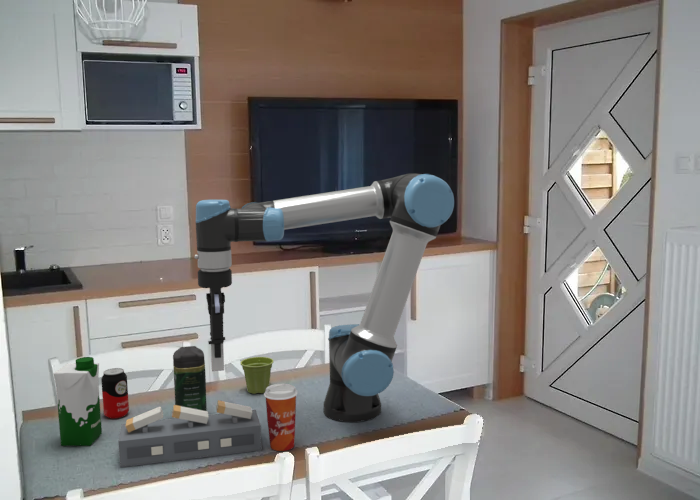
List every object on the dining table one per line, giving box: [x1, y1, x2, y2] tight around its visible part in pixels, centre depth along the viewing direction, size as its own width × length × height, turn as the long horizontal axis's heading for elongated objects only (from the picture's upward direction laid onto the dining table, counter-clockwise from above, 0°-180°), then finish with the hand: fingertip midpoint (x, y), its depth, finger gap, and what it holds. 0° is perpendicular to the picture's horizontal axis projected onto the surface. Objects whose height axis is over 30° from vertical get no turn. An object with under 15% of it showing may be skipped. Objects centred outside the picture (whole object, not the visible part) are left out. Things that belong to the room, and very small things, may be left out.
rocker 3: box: [215, 399, 253, 419], centre depth 161 cm, size 8×4×2 cm, turn 105°
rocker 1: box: [125, 406, 164, 432], centre depth 156 cm, size 8×4×2 cm, turn 104°
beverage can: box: [100, 367, 130, 420], centre depth 180 cm, size 6×6×12 cm
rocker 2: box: [171, 404, 209, 424], centre depth 158 cm, size 8×4×2 cm, turn 105°
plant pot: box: [239, 356, 275, 395], centre depth 197 cm, size 9×9×9 cm
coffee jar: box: [172, 345, 208, 411], centre depth 177 cm, size 10×8×19 cm
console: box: [117, 409, 263, 468], centre depth 159 cm, size 31×10×7 cm, turn 104°
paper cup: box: [263, 383, 299, 452], centre depth 160 cm, size 8×8×14 cm
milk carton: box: [52, 356, 103, 447], centre depth 164 cm, size 9×9×20 cm
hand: (217, 369), depth 159 cm, fingers closed
